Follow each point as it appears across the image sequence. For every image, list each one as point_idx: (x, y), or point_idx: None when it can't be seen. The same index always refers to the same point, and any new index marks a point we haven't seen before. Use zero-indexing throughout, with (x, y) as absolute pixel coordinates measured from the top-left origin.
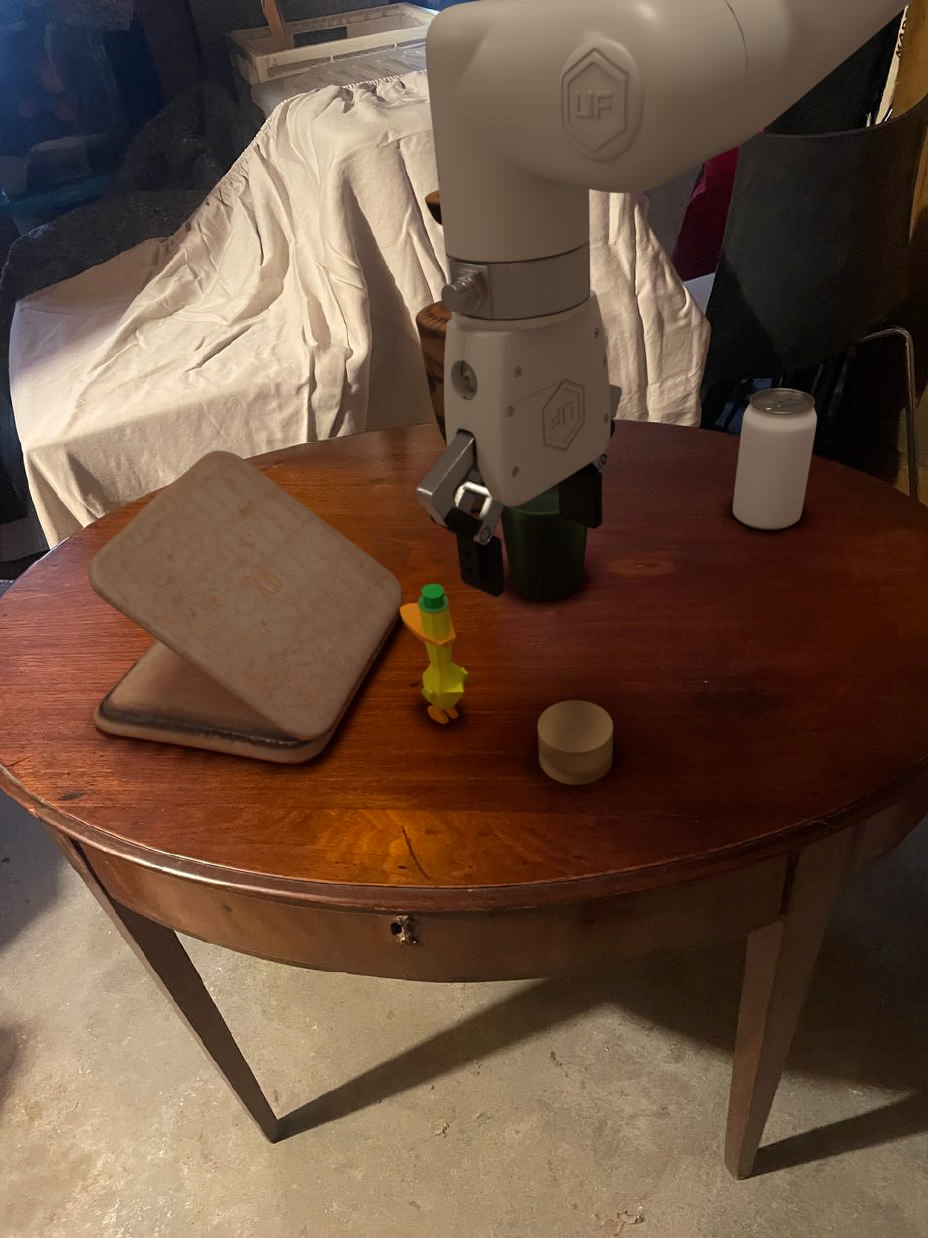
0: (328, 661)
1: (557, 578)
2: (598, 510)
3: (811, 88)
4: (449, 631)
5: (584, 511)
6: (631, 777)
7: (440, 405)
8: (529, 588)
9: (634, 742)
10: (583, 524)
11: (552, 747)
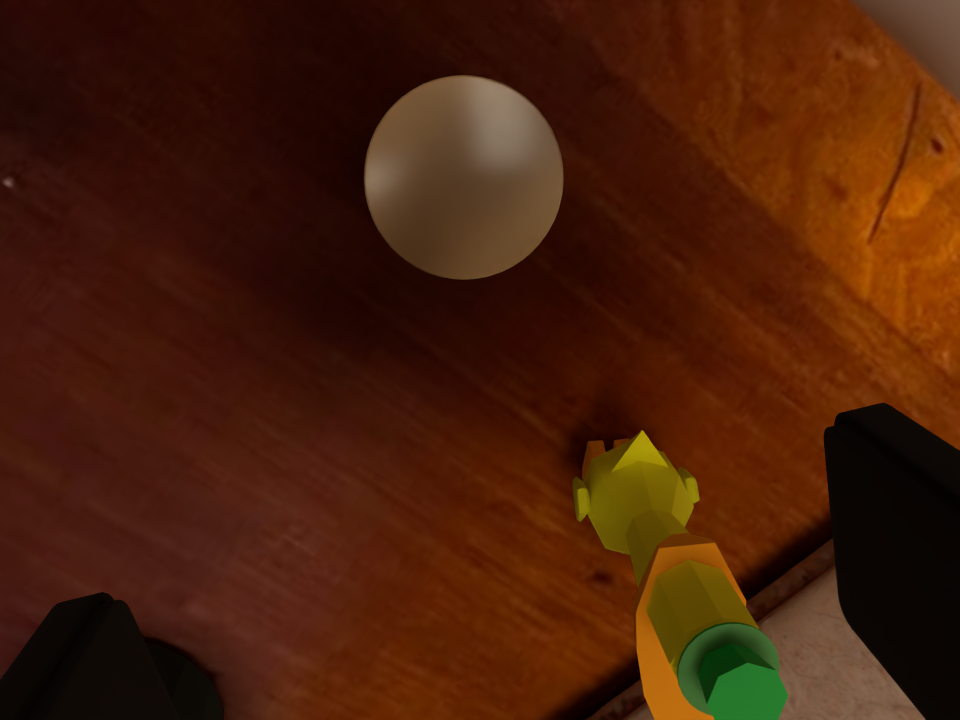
0: (822, 696)
1: None
2: (43, 661)
3: None
4: (667, 573)
5: (111, 705)
6: (391, 35)
7: None
8: (203, 699)
9: (309, 124)
10: (144, 652)
11: (560, 154)
